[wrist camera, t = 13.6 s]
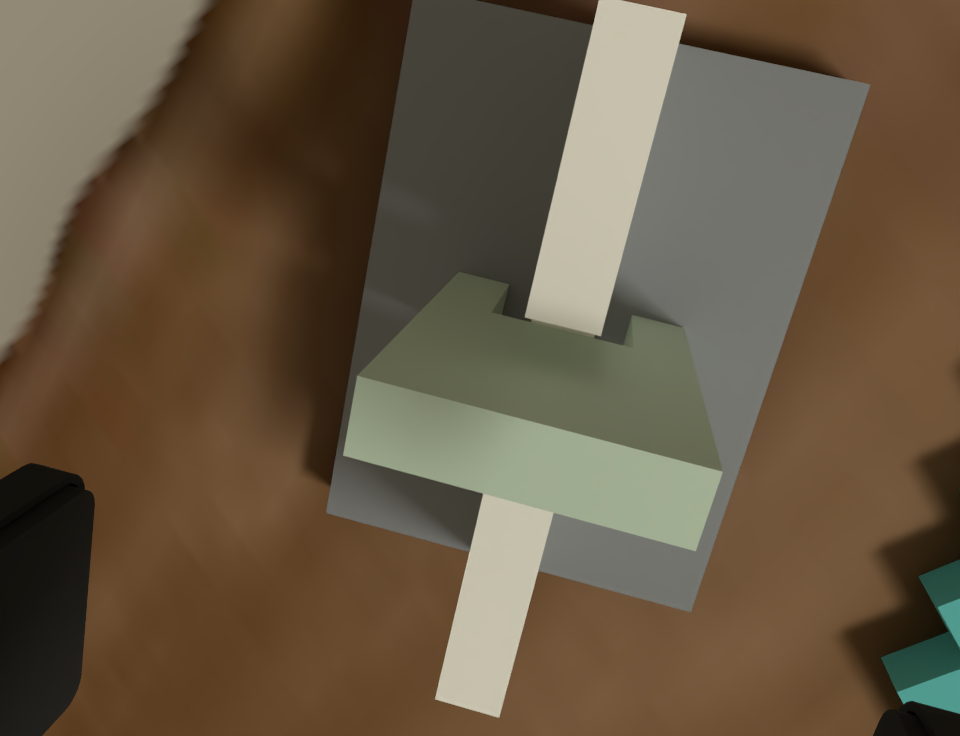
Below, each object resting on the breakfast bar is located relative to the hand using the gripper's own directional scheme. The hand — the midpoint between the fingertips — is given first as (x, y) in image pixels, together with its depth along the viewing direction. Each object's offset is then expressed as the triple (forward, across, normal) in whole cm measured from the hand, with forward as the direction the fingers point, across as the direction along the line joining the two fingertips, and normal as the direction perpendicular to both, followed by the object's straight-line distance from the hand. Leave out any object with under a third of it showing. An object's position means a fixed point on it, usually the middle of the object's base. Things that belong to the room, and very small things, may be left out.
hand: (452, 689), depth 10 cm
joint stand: (+17, 0, -1) cm, 17 cm away
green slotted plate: (+16, 0, -1) cm, 16 cm away
